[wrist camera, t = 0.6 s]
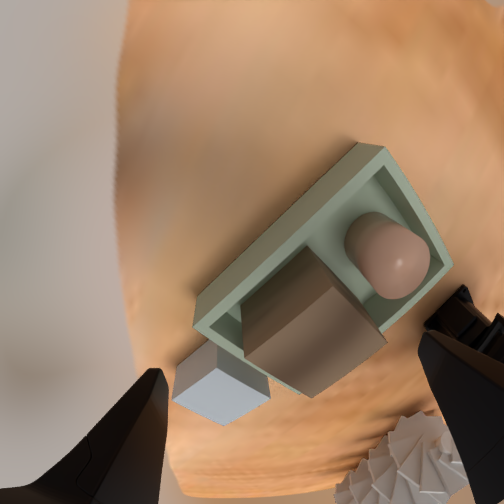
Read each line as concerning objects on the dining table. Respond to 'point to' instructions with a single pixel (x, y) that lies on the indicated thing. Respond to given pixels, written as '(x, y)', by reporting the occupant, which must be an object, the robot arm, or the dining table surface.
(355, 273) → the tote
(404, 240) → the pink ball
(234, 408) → the gray block
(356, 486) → the spiral staircase
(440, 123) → the dining table surface
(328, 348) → the walnut block
